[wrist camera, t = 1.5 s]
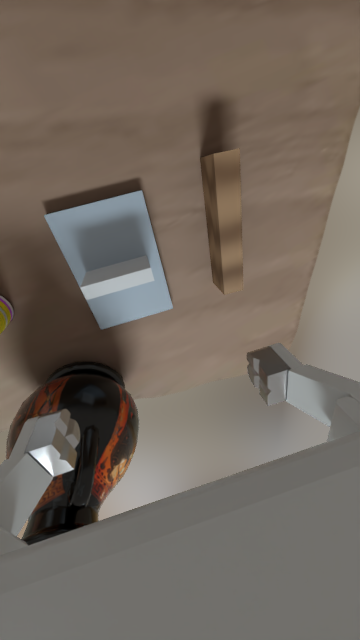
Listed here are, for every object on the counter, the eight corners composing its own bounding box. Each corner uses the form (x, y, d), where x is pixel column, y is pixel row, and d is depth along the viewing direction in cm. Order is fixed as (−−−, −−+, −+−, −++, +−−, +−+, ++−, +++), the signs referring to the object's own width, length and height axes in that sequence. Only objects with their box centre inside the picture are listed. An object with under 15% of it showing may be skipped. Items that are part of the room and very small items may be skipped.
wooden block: (199, 158, 33) (213, 153, 28) (222, 153, 34) (239, 148, 29) (212, 282, 44) (224, 294, 39) (229, 277, 44) (243, 289, 39)
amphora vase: (116, 423, 59) (113, 583, 35) (21, 412, 50) (-67, 614, 26) (151, 363, 51) (176, 516, 27) (45, 336, 42) (-50, 528, 19)
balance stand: (46, 214, 32) (27, 222, 26) (141, 190, 33) (146, 191, 27) (101, 325, 43) (98, 351, 37) (171, 304, 44) (180, 326, 38)
